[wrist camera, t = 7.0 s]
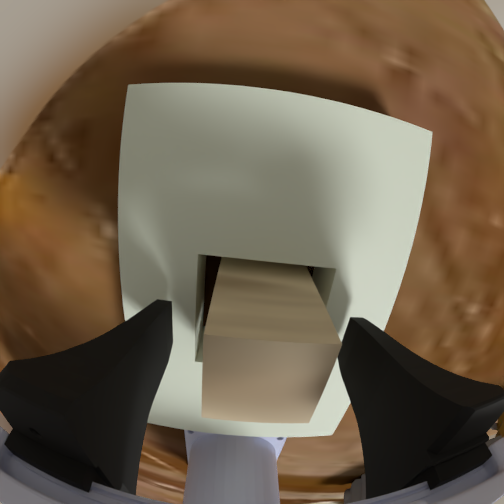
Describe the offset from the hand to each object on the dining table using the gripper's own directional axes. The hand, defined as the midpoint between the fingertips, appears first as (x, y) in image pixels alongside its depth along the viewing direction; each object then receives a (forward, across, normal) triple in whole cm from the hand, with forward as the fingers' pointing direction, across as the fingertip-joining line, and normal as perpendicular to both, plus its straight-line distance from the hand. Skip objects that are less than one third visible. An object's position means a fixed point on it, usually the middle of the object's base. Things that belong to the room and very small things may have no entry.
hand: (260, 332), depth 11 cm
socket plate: (+4, 0, 0) cm, 4 cm away
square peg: (+4, 0, 0) cm, 4 cm away
